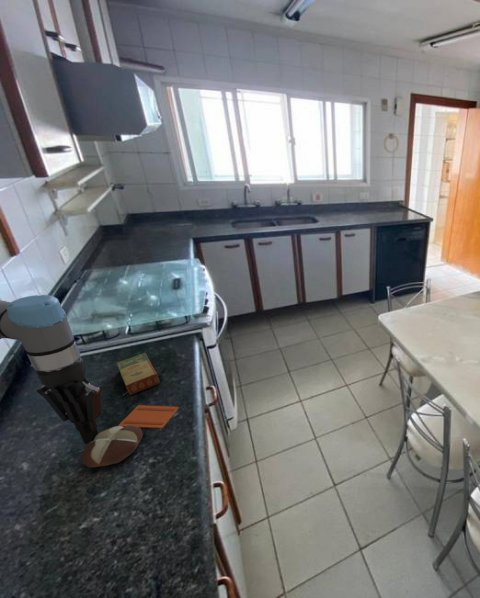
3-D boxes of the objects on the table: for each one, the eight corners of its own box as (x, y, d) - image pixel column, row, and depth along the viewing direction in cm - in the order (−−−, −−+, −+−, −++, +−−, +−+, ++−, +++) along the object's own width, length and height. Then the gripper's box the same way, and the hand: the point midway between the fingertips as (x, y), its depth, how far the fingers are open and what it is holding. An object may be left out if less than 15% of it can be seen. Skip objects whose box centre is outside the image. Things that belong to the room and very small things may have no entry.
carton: (129, 396, 100) (124, 385, 99) (119, 372, 110) (114, 361, 108) (161, 383, 106) (157, 372, 104) (148, 361, 116) (145, 351, 114)
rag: (118, 427, 90) (117, 425, 90) (138, 406, 97) (138, 404, 97) (162, 428, 91) (162, 427, 90) (180, 407, 98) (179, 406, 98)
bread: (74, 469, 78) (66, 455, 76) (112, 431, 88) (105, 418, 86) (122, 470, 78) (114, 455, 76) (154, 432, 89) (148, 418, 86)
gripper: (102, 354, 77) (129, 428, 87) (44, 351, 76) (78, 426, 86) (74, 374, 70) (106, 452, 80) (10, 371, 69) (51, 450, 79)
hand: (91, 439), depth 83 cm, fingers closed
